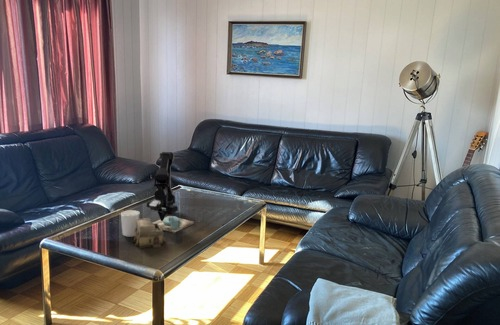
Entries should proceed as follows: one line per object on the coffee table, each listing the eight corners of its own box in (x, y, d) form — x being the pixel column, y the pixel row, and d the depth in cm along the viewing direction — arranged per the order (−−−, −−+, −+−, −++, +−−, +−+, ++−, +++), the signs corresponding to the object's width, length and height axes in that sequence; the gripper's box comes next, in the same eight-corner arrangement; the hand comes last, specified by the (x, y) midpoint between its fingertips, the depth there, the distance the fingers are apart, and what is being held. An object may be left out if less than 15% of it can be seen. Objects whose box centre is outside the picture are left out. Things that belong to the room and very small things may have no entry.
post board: (149, 225, 232) (149, 217, 231) (170, 217, 248) (170, 209, 247) (174, 232, 224) (174, 224, 223) (193, 223, 239) (193, 215, 238)
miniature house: (137, 250, 200) (136, 228, 197) (132, 239, 212) (132, 219, 210) (166, 246, 206) (167, 225, 203) (161, 236, 218) (161, 216, 216)
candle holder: (143, 232, 222) (143, 211, 220) (132, 238, 213) (132, 217, 211) (128, 229, 225) (128, 209, 223) (117, 235, 216) (116, 214, 214)
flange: (162, 220, 238) (162, 212, 237) (178, 218, 242) (178, 210, 241) (166, 229, 224) (166, 221, 223) (184, 228, 227) (184, 219, 226)
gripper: (139, 194, 225) (139, 221, 228) (165, 201, 216) (165, 228, 219) (153, 190, 234) (153, 215, 237) (178, 196, 225) (178, 222, 229)
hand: (162, 220), depth 230 cm, fingers closed
